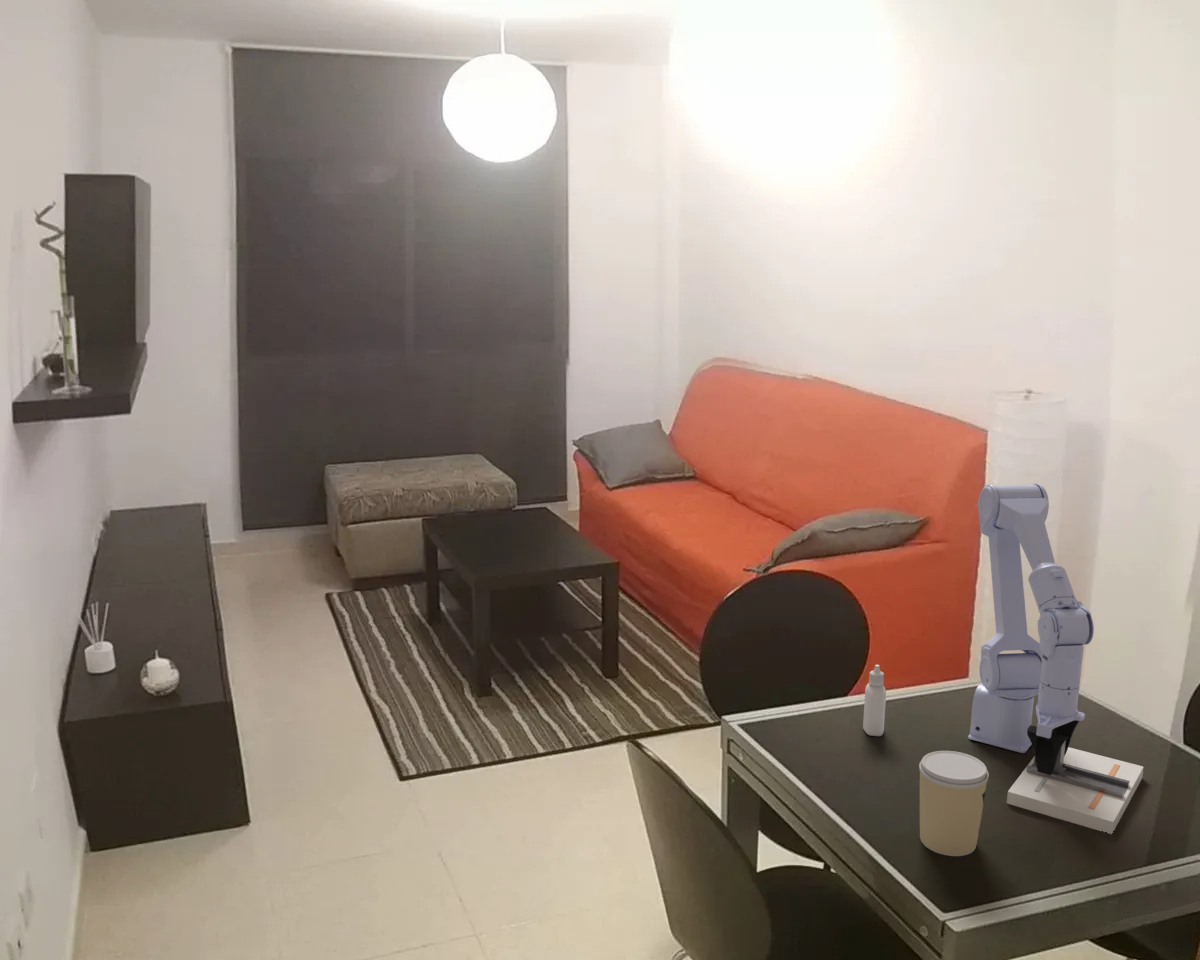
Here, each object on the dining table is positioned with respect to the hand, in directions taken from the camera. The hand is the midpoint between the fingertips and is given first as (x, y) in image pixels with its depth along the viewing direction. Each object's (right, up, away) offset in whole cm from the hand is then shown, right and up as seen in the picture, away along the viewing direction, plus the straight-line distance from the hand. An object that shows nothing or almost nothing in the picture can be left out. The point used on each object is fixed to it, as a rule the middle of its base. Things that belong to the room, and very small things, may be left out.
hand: (1051, 763), depth 177 cm
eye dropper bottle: (-23, +1, +19) cm, 30 cm away
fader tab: (0, -1, 0) cm, 1 cm away
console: (+3, -4, -2) cm, 5 cm away
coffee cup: (-21, -7, -16) cm, 28 cm away
